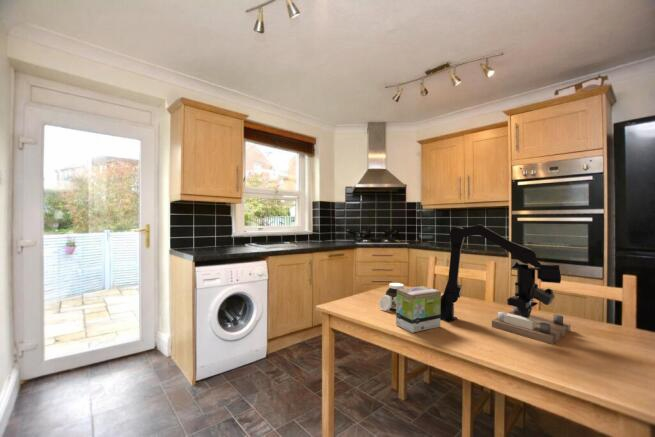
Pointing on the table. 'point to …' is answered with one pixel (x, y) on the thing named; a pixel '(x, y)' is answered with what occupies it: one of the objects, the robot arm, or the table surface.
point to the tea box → (418, 308)
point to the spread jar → (390, 297)
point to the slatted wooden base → (537, 327)
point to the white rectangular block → (516, 320)
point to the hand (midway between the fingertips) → (526, 320)
